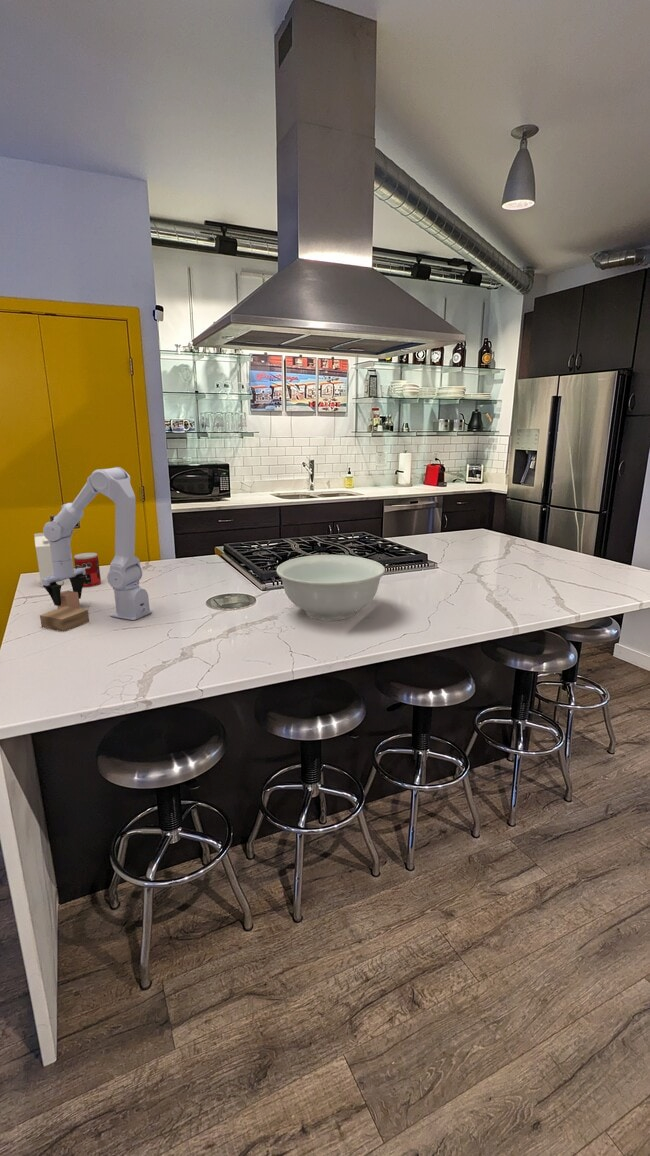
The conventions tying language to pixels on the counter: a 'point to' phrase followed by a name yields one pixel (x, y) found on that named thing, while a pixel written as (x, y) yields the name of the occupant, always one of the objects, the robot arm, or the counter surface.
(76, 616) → the walnut base block
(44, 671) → the counter surface
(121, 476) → the robot arm
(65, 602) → the terracotta block
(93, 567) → the canned food
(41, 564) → the milk carton
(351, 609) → the bowl
